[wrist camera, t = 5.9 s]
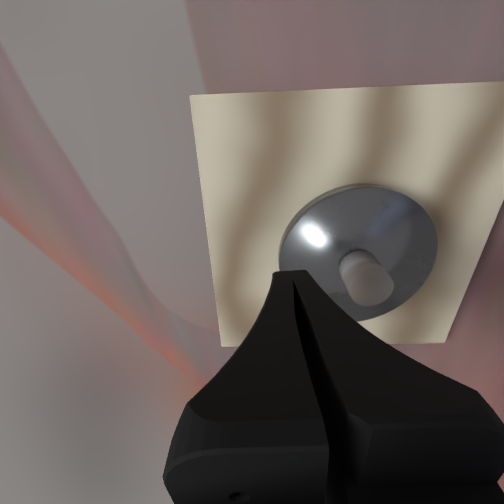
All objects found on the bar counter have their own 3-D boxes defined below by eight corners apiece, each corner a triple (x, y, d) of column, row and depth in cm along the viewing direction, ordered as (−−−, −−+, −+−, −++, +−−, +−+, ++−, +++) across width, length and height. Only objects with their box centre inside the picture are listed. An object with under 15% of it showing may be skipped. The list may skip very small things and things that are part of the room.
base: (537, 80, 16) (683, 69, 10) (437, 334, 25) (487, 397, 20) (193, 95, 16) (161, 92, 11) (222, 338, 26) (213, 400, 21)
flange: (327, 154, 16) (332, 158, 15) (460, 222, 18) (474, 230, 17) (233, 320, 22) (232, 333, 21) (339, 358, 24) (343, 371, 23)
